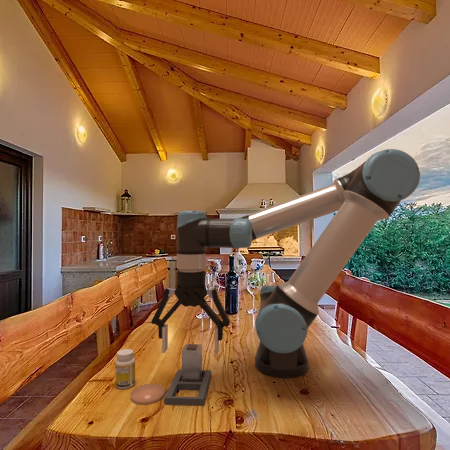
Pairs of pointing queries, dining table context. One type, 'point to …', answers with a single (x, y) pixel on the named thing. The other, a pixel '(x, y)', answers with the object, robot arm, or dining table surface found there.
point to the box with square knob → (192, 363)
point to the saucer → (147, 394)
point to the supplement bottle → (125, 369)
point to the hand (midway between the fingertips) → (190, 351)
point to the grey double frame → (178, 385)
